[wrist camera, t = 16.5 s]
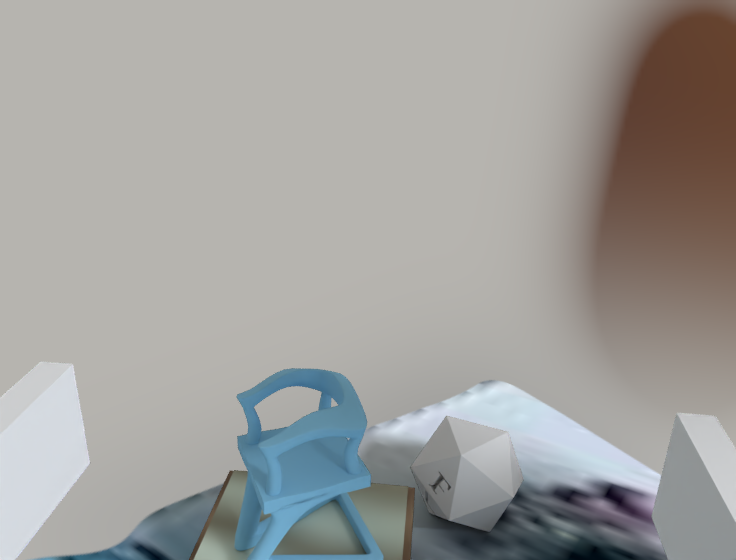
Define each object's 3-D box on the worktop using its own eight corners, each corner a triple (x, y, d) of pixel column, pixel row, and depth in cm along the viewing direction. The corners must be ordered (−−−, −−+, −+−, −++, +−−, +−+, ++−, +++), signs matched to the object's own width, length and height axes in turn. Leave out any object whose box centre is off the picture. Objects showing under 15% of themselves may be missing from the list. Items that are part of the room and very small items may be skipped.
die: (406, 481, 59) (383, 447, 51) (482, 423, 60) (472, 380, 53) (463, 561, 55) (448, 537, 47) (544, 496, 56) (543, 462, 48)
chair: (226, 521, 45) (214, 366, 40) (341, 491, 48) (342, 343, 43) (254, 611, 39) (244, 439, 34) (385, 570, 42) (392, 406, 37)
